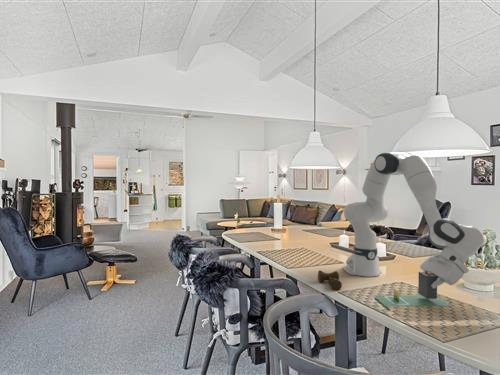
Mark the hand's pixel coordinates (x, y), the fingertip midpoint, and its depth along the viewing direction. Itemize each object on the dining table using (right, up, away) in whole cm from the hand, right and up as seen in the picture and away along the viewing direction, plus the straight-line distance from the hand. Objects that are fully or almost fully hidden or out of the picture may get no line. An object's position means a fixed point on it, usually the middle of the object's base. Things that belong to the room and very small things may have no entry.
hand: (426, 283), depth 139 cm
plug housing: (+1, -5, 0) cm, 5 cm away
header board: (-6, -8, 0) cm, 10 cm away
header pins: (-12, -7, -1) cm, 14 cm away
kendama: (-33, -8, +27) cm, 43 cm away
